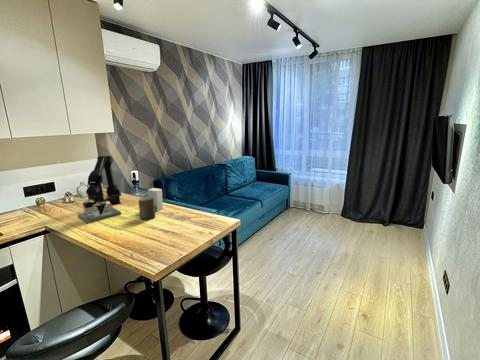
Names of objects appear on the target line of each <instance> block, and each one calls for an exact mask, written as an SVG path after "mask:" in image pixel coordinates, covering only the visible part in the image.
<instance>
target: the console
mask: <svg viewBox="0 0 480 360" xmlns="http://www.w3.org/2000/svg"><path fill="white" fill-rule="evenodd" d="M96 210H97V211H98V209H96ZM117 215H118V216H120V215H122V211H120V210H119V209H116V208H114V207H113V206H108V211H104V210H103V213H102V214H100V213H99V216H98V217H94V215H93V212H91V213H87V214H85V213H84V212H81V213H77V218H78V219H79V220H81V221H82V222H84V223H85V224H86V225H88V224H92V223H95V222H99V221H102V220H106V219H110V218H113V217H116V216H117ZM118 216H117V217H118Z"/></svg>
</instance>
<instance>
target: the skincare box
mask: <svg viewBox="0 0 480 360" xmlns="http://www.w3.org/2000/svg"><path fill="white" fill-rule="evenodd" d="M148 196H149V197H153V198H154V207H155V212H160V211H162V210H163V209H164V205H163V189H162V188H156V187H152V188H149V189H147V197H148Z"/></svg>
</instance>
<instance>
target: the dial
mask: <svg viewBox="0 0 480 360" xmlns="http://www.w3.org/2000/svg"><path fill="white" fill-rule="evenodd" d="M82 207H83V206H82ZM95 210H96V207H94V206H93V205H92V207H90V208H85V207H83V213H85V214H87V213H91V212H93V211H95Z"/></svg>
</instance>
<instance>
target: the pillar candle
mask: <svg viewBox="0 0 480 360" xmlns="http://www.w3.org/2000/svg"><path fill="white" fill-rule="evenodd" d="M137 200H138V209H139V217H140V220H142V221H151V220H153V219H155V218H156V211H155V207H154V198H153V197H149V196H148V195H147V196H143V197H139V198H138V199H137Z"/></svg>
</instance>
